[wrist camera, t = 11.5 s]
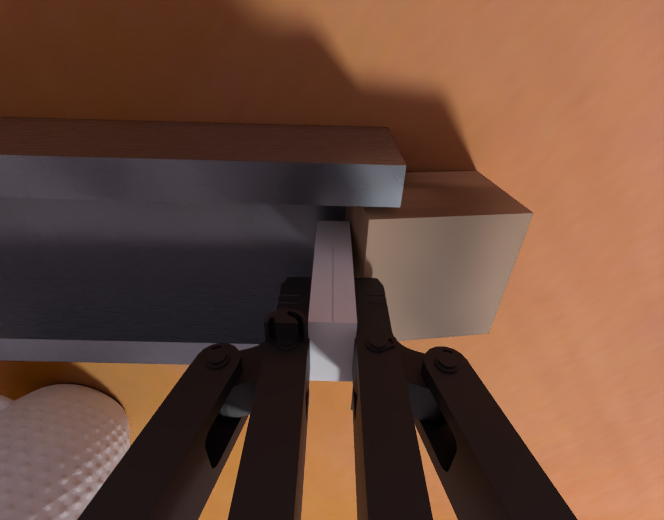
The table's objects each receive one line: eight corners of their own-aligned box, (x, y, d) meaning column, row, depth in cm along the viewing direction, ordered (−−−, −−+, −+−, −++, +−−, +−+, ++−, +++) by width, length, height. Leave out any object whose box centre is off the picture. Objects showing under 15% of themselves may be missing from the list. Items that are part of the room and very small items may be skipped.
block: (342, 282, 20) (357, 344, 16) (347, 173, 16) (369, 219, 12) (449, 276, 20) (488, 333, 17) (476, 170, 17) (533, 213, 13)
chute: (-36, 291, 21) (-126, 357, 17) (-161, 112, 16) (-341, 145, 11) (369, 300, 21) (377, 368, 17) (387, 127, 16) (406, 165, 12)
